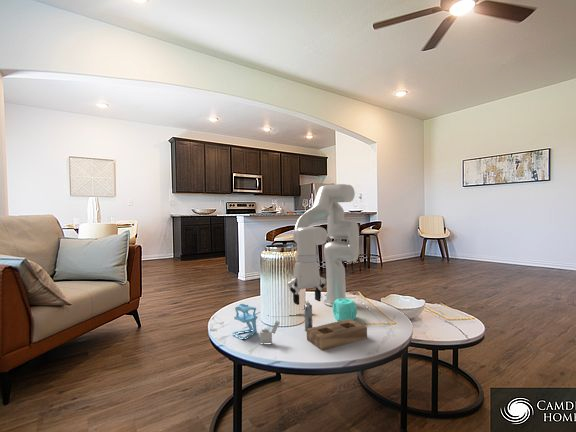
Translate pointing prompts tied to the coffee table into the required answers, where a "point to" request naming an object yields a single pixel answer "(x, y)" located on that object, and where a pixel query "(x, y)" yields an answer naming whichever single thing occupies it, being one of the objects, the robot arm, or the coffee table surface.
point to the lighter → (268, 334)
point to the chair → (246, 319)
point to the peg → (308, 316)
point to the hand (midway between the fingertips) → (307, 302)
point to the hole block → (336, 334)
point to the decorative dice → (344, 309)
